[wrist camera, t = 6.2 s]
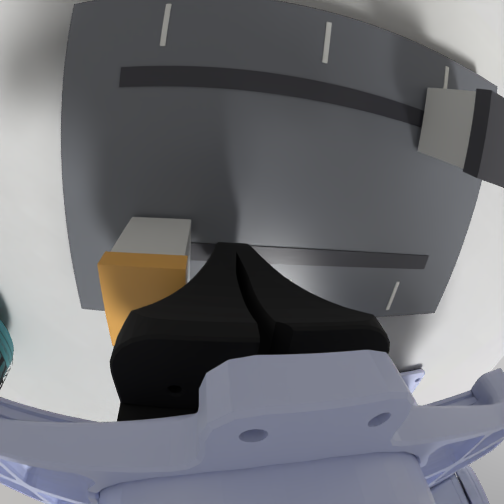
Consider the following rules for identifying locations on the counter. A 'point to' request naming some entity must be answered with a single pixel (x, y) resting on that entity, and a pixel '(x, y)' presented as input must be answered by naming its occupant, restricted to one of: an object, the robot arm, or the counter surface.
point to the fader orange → (144, 267)
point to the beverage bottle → (5, 351)
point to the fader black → (465, 131)
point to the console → (263, 145)
